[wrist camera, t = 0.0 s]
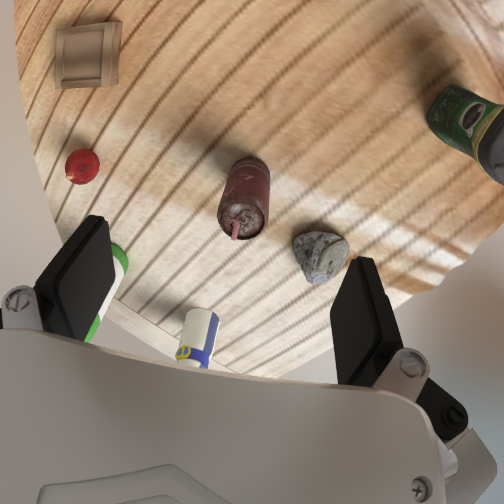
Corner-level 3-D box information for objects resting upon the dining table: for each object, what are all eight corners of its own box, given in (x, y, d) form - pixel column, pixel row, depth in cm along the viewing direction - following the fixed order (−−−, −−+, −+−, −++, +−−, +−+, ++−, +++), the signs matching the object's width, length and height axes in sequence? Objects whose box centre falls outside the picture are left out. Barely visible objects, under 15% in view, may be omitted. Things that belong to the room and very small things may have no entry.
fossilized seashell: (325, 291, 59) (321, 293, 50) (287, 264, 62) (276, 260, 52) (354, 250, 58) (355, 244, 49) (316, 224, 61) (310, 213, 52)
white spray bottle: (175, 312, 68) (146, 413, 48) (207, 302, 66) (183, 410, 46) (196, 334, 73) (174, 431, 53) (227, 326, 70) (211, 429, 50)
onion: (102, 139, 46) (78, 157, 39) (110, 170, 49) (88, 192, 43) (75, 145, 46) (49, 163, 40) (84, 175, 50) (60, 196, 43)
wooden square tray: (68, 29, 34) (56, 29, 31) (122, 22, 34) (112, 21, 31) (66, 85, 40) (55, 89, 37) (118, 83, 40) (108, 86, 37)
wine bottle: (106, 273, 63) (45, 392, 39) (90, 244, 59) (15, 363, 35) (136, 269, 62) (78, 398, 38) (120, 238, 57) (46, 368, 33)
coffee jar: (450, 149, 42) (514, 205, 27) (418, 120, 40) (483, 166, 26) (480, 107, 37) (554, 148, 22) (450, 75, 35) (527, 102, 20)
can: (227, 189, 50) (212, 239, 39) (234, 152, 46) (219, 193, 35) (264, 197, 51) (261, 249, 39) (274, 161, 47) (273, 204, 36)
